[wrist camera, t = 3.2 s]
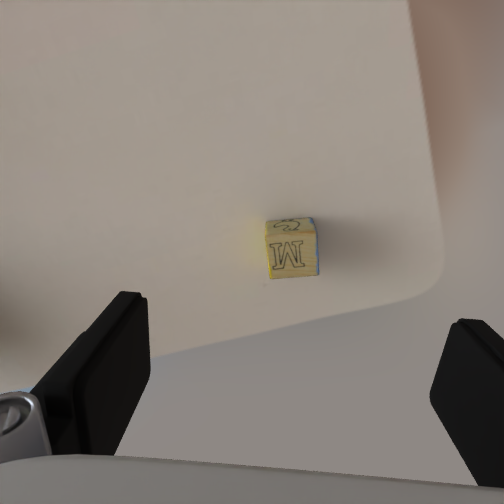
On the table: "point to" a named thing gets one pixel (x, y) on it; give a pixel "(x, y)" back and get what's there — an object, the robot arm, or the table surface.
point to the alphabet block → (292, 248)
